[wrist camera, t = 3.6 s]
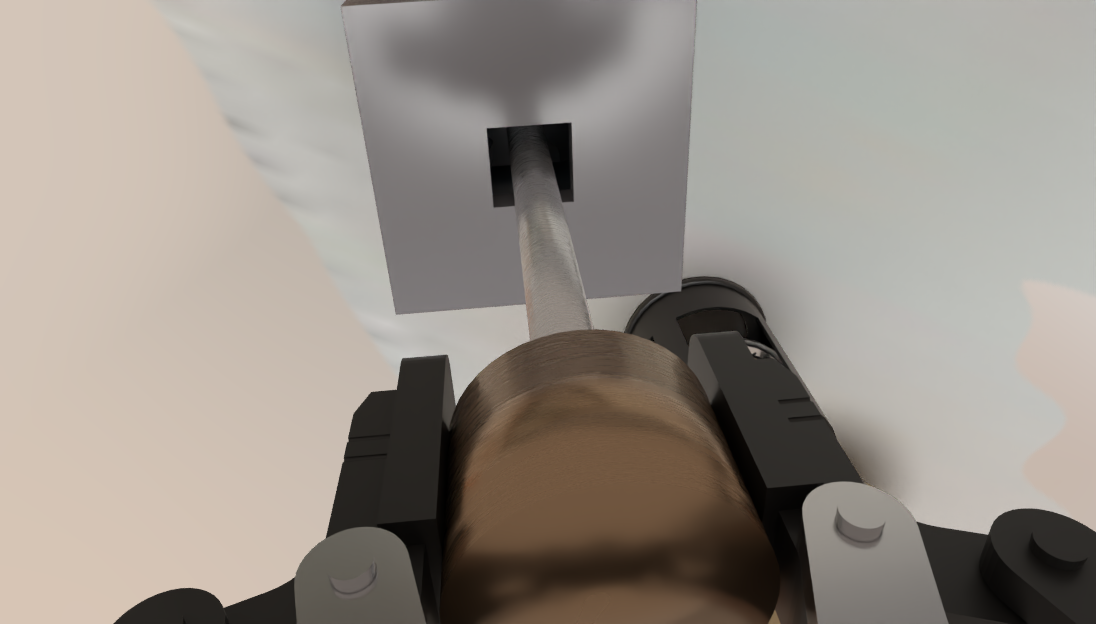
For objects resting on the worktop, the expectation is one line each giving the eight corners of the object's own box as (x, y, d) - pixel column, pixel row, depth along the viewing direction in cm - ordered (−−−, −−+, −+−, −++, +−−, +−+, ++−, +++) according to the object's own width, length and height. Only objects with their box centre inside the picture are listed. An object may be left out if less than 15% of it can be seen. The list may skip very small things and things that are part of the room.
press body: (596, -72, 35) (697, -17, 19) (598, 118, 40) (681, 291, 24) (403, -60, 35) (340, 6, 19) (428, 131, 40) (395, 314, 24)
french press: (585, 334, 47) (662, 666, 28) (703, 240, 45) (880, 536, 25) (693, 432, 52) (823, 771, 33) (805, 353, 50) (1019, 673, 30)
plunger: (591, -2, 28) (914, 383, 7) (593, 152, 31) (824, 726, 10) (430, 8, 28) (295, 439, 7) (449, 162, 31) (394, 773, 10)
